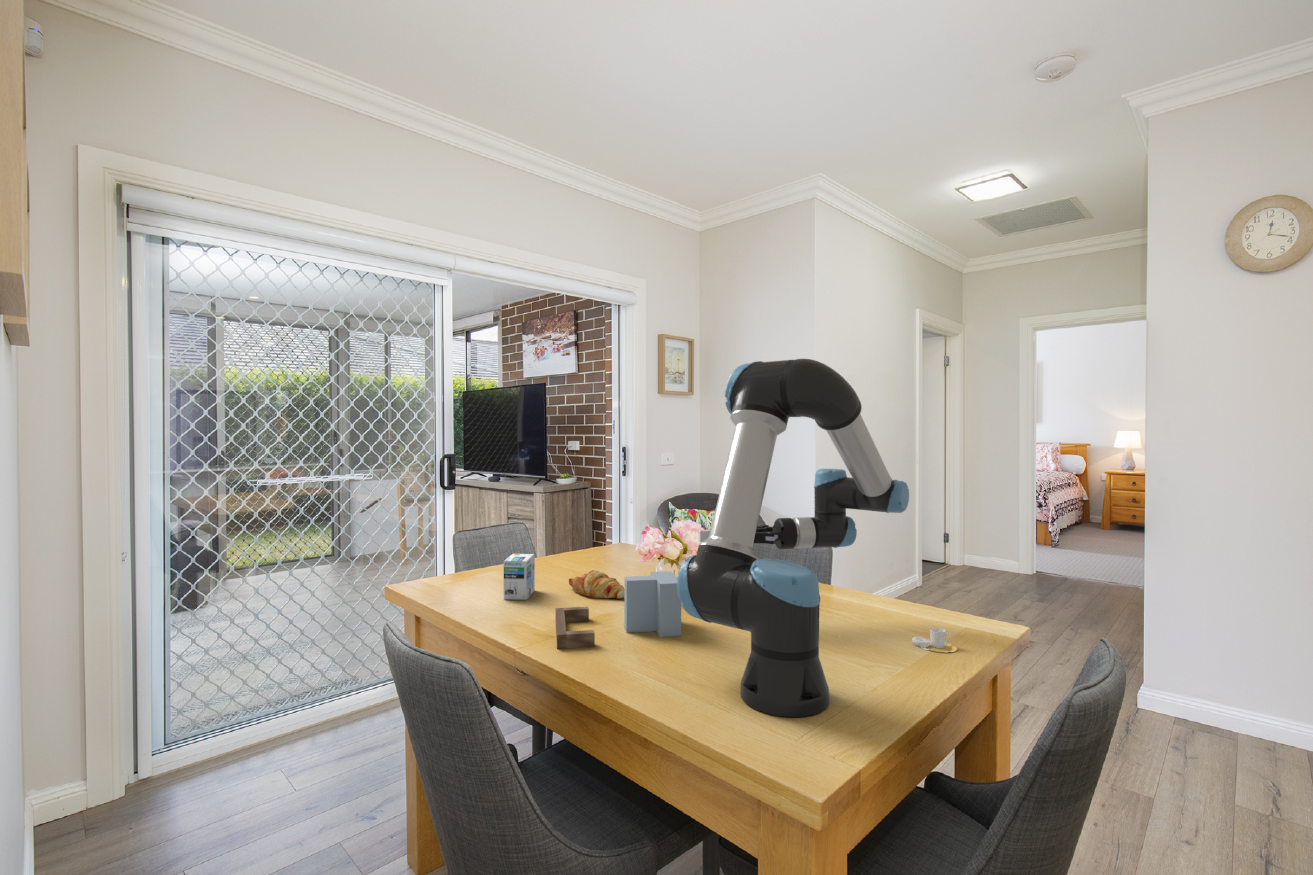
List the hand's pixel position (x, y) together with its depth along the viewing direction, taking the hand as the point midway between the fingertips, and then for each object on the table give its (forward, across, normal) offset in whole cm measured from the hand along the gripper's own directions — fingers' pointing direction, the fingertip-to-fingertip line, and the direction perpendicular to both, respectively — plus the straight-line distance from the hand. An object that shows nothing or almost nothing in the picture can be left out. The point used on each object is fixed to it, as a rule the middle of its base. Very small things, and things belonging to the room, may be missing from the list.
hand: (699, 536), depth 148 cm
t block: (+12, 0, -21) cm, 25 cm away
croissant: (+22, +32, -22) cm, 45 cm away
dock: (+30, 0, -21) cm, 37 cm away
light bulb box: (+43, +35, -22) cm, 60 cm away
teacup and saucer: (-47, -19, -22) cm, 56 cm away
